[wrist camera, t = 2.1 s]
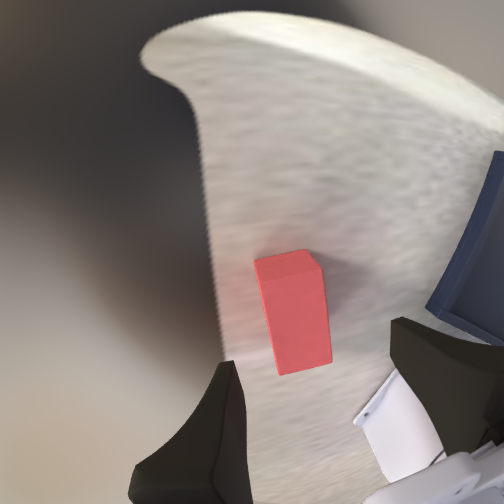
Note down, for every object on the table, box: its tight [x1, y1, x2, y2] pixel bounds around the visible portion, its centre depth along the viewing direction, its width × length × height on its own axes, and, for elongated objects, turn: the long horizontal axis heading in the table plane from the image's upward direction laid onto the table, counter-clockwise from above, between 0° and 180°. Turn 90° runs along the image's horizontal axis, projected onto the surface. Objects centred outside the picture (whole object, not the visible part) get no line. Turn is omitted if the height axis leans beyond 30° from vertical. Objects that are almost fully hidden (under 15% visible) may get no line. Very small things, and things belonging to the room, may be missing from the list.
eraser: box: [254, 249, 332, 376], centre depth 17 cm, size 6×3×4 cm, turn 12°
